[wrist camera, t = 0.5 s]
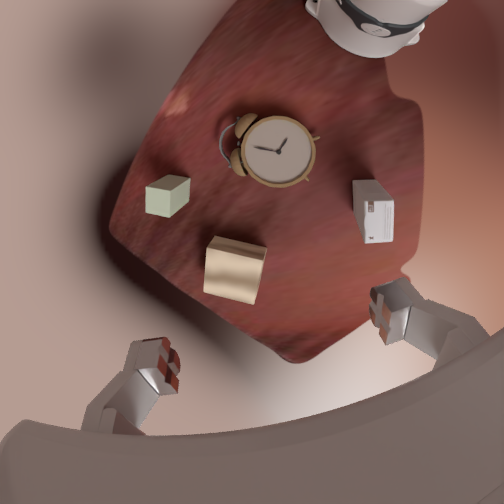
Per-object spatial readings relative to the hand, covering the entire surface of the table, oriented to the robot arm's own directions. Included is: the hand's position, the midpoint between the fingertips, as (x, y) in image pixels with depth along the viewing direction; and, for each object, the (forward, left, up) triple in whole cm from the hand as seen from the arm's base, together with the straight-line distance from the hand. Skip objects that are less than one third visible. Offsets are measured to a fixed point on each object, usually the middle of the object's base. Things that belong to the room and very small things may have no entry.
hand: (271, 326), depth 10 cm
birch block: (+22, -7, -37) cm, 44 cm away
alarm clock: (-1, -5, -37) cm, 38 cm away
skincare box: (+3, +12, -37) cm, 39 cm away
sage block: (+9, -20, -37) cm, 43 cm away
